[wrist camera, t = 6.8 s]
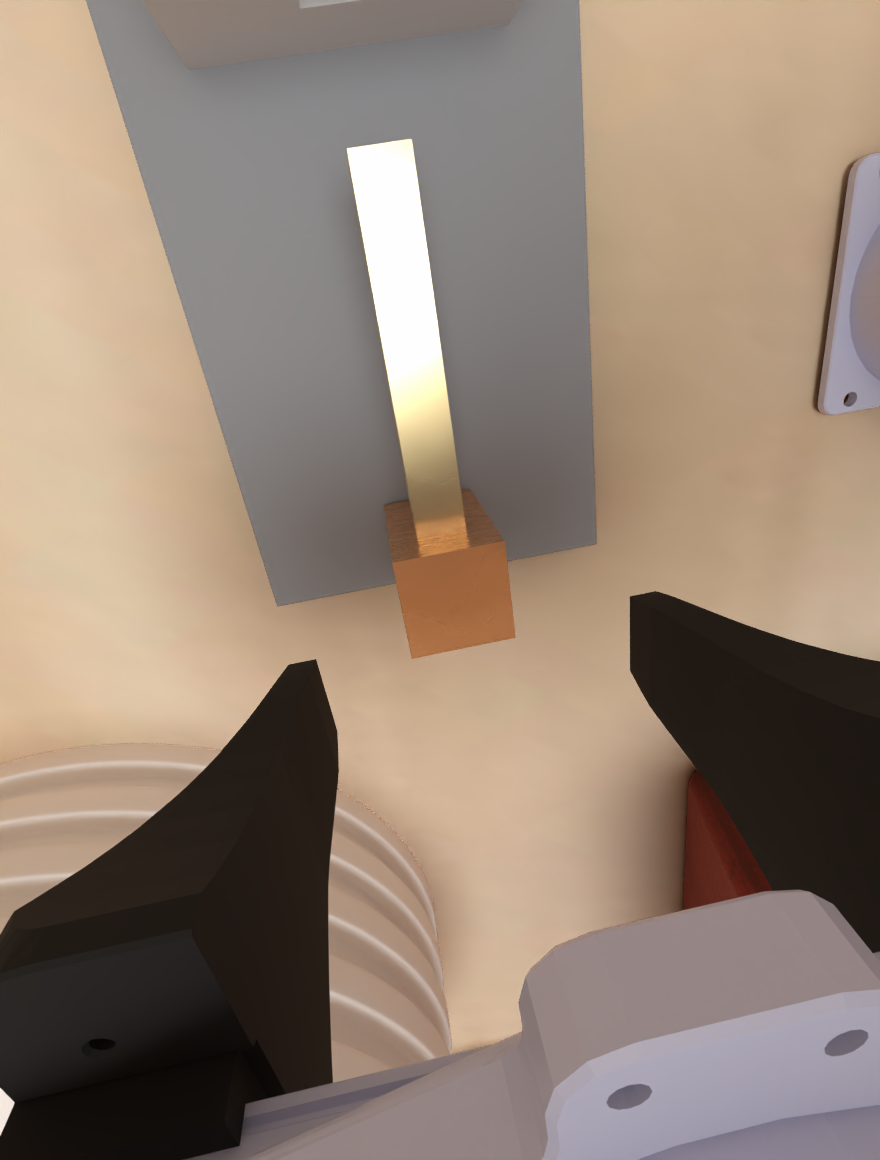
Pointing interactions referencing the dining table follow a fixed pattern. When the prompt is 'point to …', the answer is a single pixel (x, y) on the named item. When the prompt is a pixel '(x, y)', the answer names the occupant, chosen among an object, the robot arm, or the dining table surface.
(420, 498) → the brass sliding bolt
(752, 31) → the dining table surface
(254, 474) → the block
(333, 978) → the plate stack
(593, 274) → the dining table surface
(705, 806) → the plant pot
